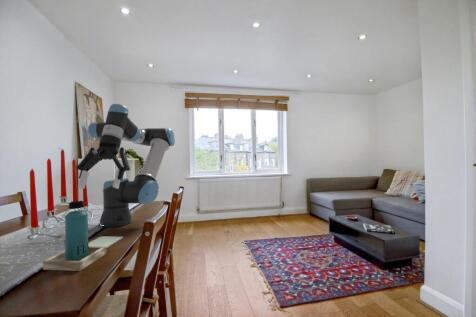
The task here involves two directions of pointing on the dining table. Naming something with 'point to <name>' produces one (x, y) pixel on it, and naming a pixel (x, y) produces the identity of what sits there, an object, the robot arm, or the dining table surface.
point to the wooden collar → (59, 264)
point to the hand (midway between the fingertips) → (98, 187)
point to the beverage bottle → (76, 232)
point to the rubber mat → (104, 241)
